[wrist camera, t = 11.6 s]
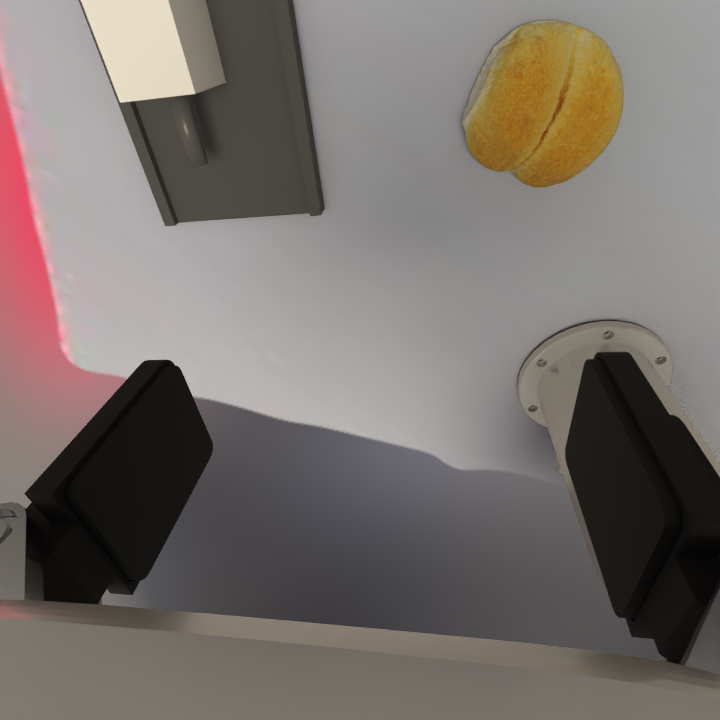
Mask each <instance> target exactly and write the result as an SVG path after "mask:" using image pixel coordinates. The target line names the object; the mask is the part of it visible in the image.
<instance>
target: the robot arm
mask: <svg viewBox="0 0 720 720" xmlns="http://www.w3.org/2000/svg"><path fill="white" fill-rule="evenodd" d="M672 370H673V363H672V359H671V356H670V353H669V352H668V350H667V349H666V347H665V346H664V344H663V343H662V342H661V341H660V339H659V338H658V337H657V336H656V335H655V334H653V333H652V332H650V331H649V330H647V329H645V328H643V327H640V326H637V325H635V324H631V323H625V322H619V321H601V322H594V323H587V324H583V325H580V326H576V327H573V328H570V329H568V330H566V331H563V332H561V333H559V334H557V335H555V336H553V337H552V338H550V339H549V340H547V341H545V342H544V343H543V344H542V345H541V346H539V347H538V348H537V349H536V350H535V351H534V352H533V353H532V354H531V355H530V356H529V358H528V359H527V360H526V362H525V363H524V365H523V367H522V369H521V371H520V374H519V378H518V385H517V391H518V395H519V399H520V402H521V405H522V407H523V409H524V411H525V412H526V413H527V415H528V416H529V417H530V418H531V419H533V420H534V421H535V422H536V423H538V424H540V425H542V426H544V427H546V428H548V431H549V434H550V437H551V440H552V443H553V446H554V449H555V452H556V455H557V456H556V460H555V464H554V467H555V469H556V470H557V471H558V472H559V473H561V474H563V476H564V479H565V482H566V485H567V488H568V491H569V494H570V497H571V500H572V503H573V506H574V509H575V512H576V516H577V519H578V522H579V525H580V528H581V531H582V534H583V537H584V540H585V543H586V546H587V549H588V552H589V555H590V558H591V561H592V564H593V567H594V569H595V572H596V574H597V576H598V578H599V580H600V581H601V583H602V585H603V587H604V588H605V589H606V591H607V592H608V595H609V598H610V601H611V604H612V607H613V610H614V611H615V614H616V615H617V616H618V617H620V618H626V621H627V624H628V627H629V630H630V633H631V636H632V637H638V638H650V639H654V641H655V644H656V646H657V649H658V652H659V654H661V655H662V656H663V657H664V658H660V659H656V660H653V659H647V658H641V657H635V656H628V655H622V654H616V653H608V652H599V651H590V650H581V649H572V648H563V647H555V646H546V645H537V644H528V643H518V642H510V641H499V640H489V639H478V638H468V637H457V636H445V635H435V634H425V633H414V632H404V631H393V630H383V629H372V628H361V627H350V626H339V625H327V624H317V623H306V622H295V621H283V620H272V619H260V618H250V617H239V616H227V615H216V614H204V613H192V612H180V611H169V610H156V609H145V608H133V607H121V606H109V605H102V599H101V597H102V596H103V594H104V592H105V591H106V589H108V590H109V592H110V593H115V594H128V595H133V593H134V591H135V589H136V587H137V585H138V583H139V582H140V580H143V579H145V578H146V577H147V575H148V574H149V572H150V570H151V569H152V567H153V565H154V563H155V561H156V559H157V557H158V555H159V553H160V552H161V550H162V548H163V546H164V544H165V542H166V540H167V538H168V537H169V535H170V533H171V531H172V529H173V527H174V525H175V523H176V521H177V520H178V518H179V516H180V514H181V512H182V510H183V508H184V506H185V504H186V503H187V501H188V499H189V496H190V495H191V493H192V491H193V489H194V487H195V486H196V484H197V482H198V480H199V478H200V476H201V474H202V472H203V470H204V469H205V467H206V465H207V463H208V461H209V459H210V457H211V455H212V451H213V443H212V440H211V438H210V436H209V433H208V431H207V429H206V426H205V424H204V422H203V420H202V417H201V415H200V413H199V411H198V408H197V406H196V403H195V401H194V399H193V396H192V394H191V392H190V390H189V387H188V385H187V383H186V380H185V378H184V376H183V373H182V371H181V369H180V368H179V367H178V366H175V365H174V363H173V362H172V361H170V360H147V361H144V362H143V363H141V365H140V366H139V367H138V368H137V369H136V370H135V371H134V372H133V373H132V375H131V376H130V377H129V378H128V379H127V380H126V381H125V383H123V385H122V386H121V387H120V388H119V389H118V390H117V391H116V392H115V393H114V395H113V396H112V397H111V398H110V399H109V400H108V401H107V402H106V404H105V405H104V406H103V407H102V408H101V409H100V410H99V411H98V412H97V414H96V415H95V416H94V417H93V418H92V419H91V420H90V421H89V422H88V423H87V425H86V426H85V427H84V428H83V429H82V430H81V432H79V434H78V435H77V436H76V437H75V438H74V439H73V440H72V441H71V442H70V444H69V445H68V446H67V447H66V448H65V449H64V450H63V451H62V452H61V454H60V455H59V456H58V457H57V458H56V459H55V460H54V461H53V462H52V464H51V465H50V466H49V467H48V468H47V469H46V470H45V471H44V472H43V474H42V475H41V476H40V477H39V478H38V479H37V480H36V481H35V482H34V484H33V485H32V486H31V487H30V488H29V489H28V490H27V491H26V493H25V495H26V496H27V497H28V498H29V499H30V501H31V502H32V503H31V504H30V505H29V506H28V507H27V509H25V508H24V507H23V506H21V505H20V504H19V503H12V502H9V503H2V504H0V720H720V463H719V461H718V460H717V458H716V457H715V455H714V454H713V453H712V451H711V450H710V448H709V447H708V445H707V444H706V442H705V441H704V439H703V438H702V437H701V435H700V434H699V432H698V431H697V429H696V428H695V426H694V425H693V423H692V422H691V421H690V419H689V418H688V416H687V415H686V413H685V412H684V410H683V409H682V407H681V406H680V405H679V403H678V402H677V400H676V399H675V397H674V396H673V394H672V393H671V391H670V390H669V389H668V385H669V383H670V380H671V377H672Z"/></svg>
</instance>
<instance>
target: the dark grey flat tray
mask: <svg viewBox="0 0 720 720" xmlns="http://www.w3.org/2000/svg"><path fill="white" fill-rule="evenodd" d="M79 2H80V5H81V7H82V10H83V13H84V15H85V18H86V21H87V23H88V26H89V28H90V31H91V34H92V36H93V39H94V41H95V44H96V47H97V49H98V52H99V54H100V57H101V60H102V62H103V65H104V67H105V70H106V73H107V75H108V78H109V80H110V83H111V86H112V88H113V91H114V94H115V96H116V99H117V101H118V104H119V107H120V109H121V112H122V114H123V117H124V120H125V122H126V125H127V127H128V130H129V133H130V135H131V138H132V140H133V143H134V146H135V148H136V151H137V154H138V156H139V159H140V161H141V164H142V167H143V169H144V172H145V174H146V177H147V180H148V182H149V185H150V187H151V190H152V193H153V195H154V198H155V200H156V203H157V206H158V208H159V211H160V213H161V216H162V219H163V221H164V224H165V226H174V225H176V224H177V223H179V222H192V221H206V220H220V219H234V218H248V217H262V216H276V215H291V214H305V213H310V216H317V215H321V214H322V212H323V210H324V204H323V198H322V191H321V185H320V178H319V172H318V165H317V158H316V152H315V145H314V139H313V132H312V125H311V119H310V112H309V106H308V99H307V93H306V86H305V79H304V73H303V66H302V60H301V53H300V47H299V40H298V33H297V27H296V20H295V14H294V7H293V1H292V0H206V3H207V8H208V12H209V16H210V20H211V24H212V28H213V32H214V36H215V40H216V44H217V48H218V52H219V56H220V60H221V64H222V68H223V72H224V76H225V80H226V83H223V84H221V85H218V86H215V87H213V88H210V89H207V90H205V91H202V92H199V93H197V94H190V95H188V96H189V99H190V102H191V106H192V109H193V112H194V116H195V119H196V122H197V126H198V129H199V132H200V136H201V139H202V143H203V146H204V149H205V153H206V156H207V159H208V164H205V165H202V166H197V167H190V166H189V163H188V160H187V157H186V154H185V150H184V147H183V144H182V141H181V138H180V135H179V132H178V129H177V126H176V123H175V120H174V117H173V114H172V110H171V107H170V104H169V101H168V98H167V97H165V98H156V99H148V100H139V101H131V102H122V103H120V101H119V99H118V96H117V93H116V91H115V88H114V86H113V83H112V80H111V78H110V75H109V73H108V70H107V67H106V65H105V62H104V60H103V57H102V54H101V52H100V49H99V47H98V44H97V41H96V39H95V36H94V34H93V31H92V28H91V26H90V23H89V21H88V18H87V15H86V13H85V10H84V8H83V5H82V2H81V0H79Z"/></svg>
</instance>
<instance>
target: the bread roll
mask: <svg viewBox="0 0 720 720" xmlns="http://www.w3.org/2000/svg"><path fill="white" fill-rule="evenodd" d="M622 108H623V83H622V75H621V71H620V68H619V66H618V64H617V62H616V60H615V58H614V56H613V54H612V51H611V49H610V47H609V46H608V45H607V44H606V43H605V42H604V40H603V39H602V38H600V37H599V36H597V35H596V34H595V33H593V32H591V31H590V30H588V29H585V28H581V27H577V26H575V25H572V24H569V23H564V22H561V21H555V20H542V21H536V22H531V23H527V24H523V25H521V26H519V27H517V28H515V29H514V30H513V31H512V32H511V33H510V34H508V35H507V36H506V37H505V38H504V39H502V41H501V42H500V43H498V44H497V45H496V46H494V48H493V49H492V51H491V53H490V54H489V56H488V58H487V60H486V62H485V64H484V66H483V68H482V69H481V71H480V73H479V75H478V77H477V79H476V82H475V85H474V88H473V90H472V91H471V94H470V97H469V101H468V103H467V106H466V108H465V110H464V113H463V118H462V125H463V128H464V131H465V135H466V142H467V146H468V149H469V151H470V153H471V154H472V155H473V157H474V158H475V159H476V160H477V161H478V162H479V163H480V164H482V165H483V166H484V167H486V168H488V169H491V170H494V171H498V172H500V171H506V170H508V171H510V172H512V173H513V174H514V175H515V176H516V177H517V178H518V179H519V180H520V181H521V182H523V183H524V184H527V185H530V186H533V187H547V186H551V185H554V184H558V183H561V182H564V181H567V180H569V179H570V178H572V177H574V176H575V175H577V174H578V173H580V172H581V171H582V170H584V169H585V168H586V167H587V166H588V165H590V164H591V163H592V162H593V161H594V160H595V159H596V158H597V157H598V156H599V155H600V154H601V153H602V152H603V150H604V149H605V148H606V146H607V145H608V144H609V142H610V141H611V139H612V138H613V136H614V134H615V132H616V129H617V127H618V124H619V121H620V118H621V113H622Z"/></svg>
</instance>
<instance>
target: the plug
mask: <svg viewBox="0 0 720 720" xmlns="http://www.w3.org/2000/svg"><path fill="white" fill-rule="evenodd" d="M81 2H82V5H83V8H84V10H85V13H86V15H87V18H88V21H89V23H90V26H91V28H92V31H93V34H94V36H95V39H96V41H97V44H98V47H99V49H100V52H101V54H102V57H103V60H104V62H105V65H106V67H107V70H108V73H109V75H110V78H111V80H112V83H113V86H114V88H115V91H116V93H117V96H118V99H119V101H120V103H122V102H131V101H139V100H148V99H156V98H165V97H167V98H168V101H169V104H170V107H171V110H172V114H173V117H174V120H175V123H176V126H177V129H178V132H179V135H180V138H181V141H182V144H183V147H184V150H185V154H186V157H187V160H188V163H189V166H190V167H197V166H202V165H205V164H208V159H207V156H206V153H205V149H204V146H203V143H202V139H201V136H200V132H199V129H198V126H197V122H196V119H195V116H194V112H193V109H192V106H191V102H190V99H189V96H188V95H190V94H197V93H199V92H202V91H205V90H207V89H210V88H213V87H215V86H218V85H221V84H223V83H226V80H225V76H224V72H223V68H222V64H221V60H220V56H219V52H218V48H217V44H216V40H215V36H214V32H213V28H212V24H211V20H210V16H209V12H208V8H207V3H206V0H81Z"/></svg>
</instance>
